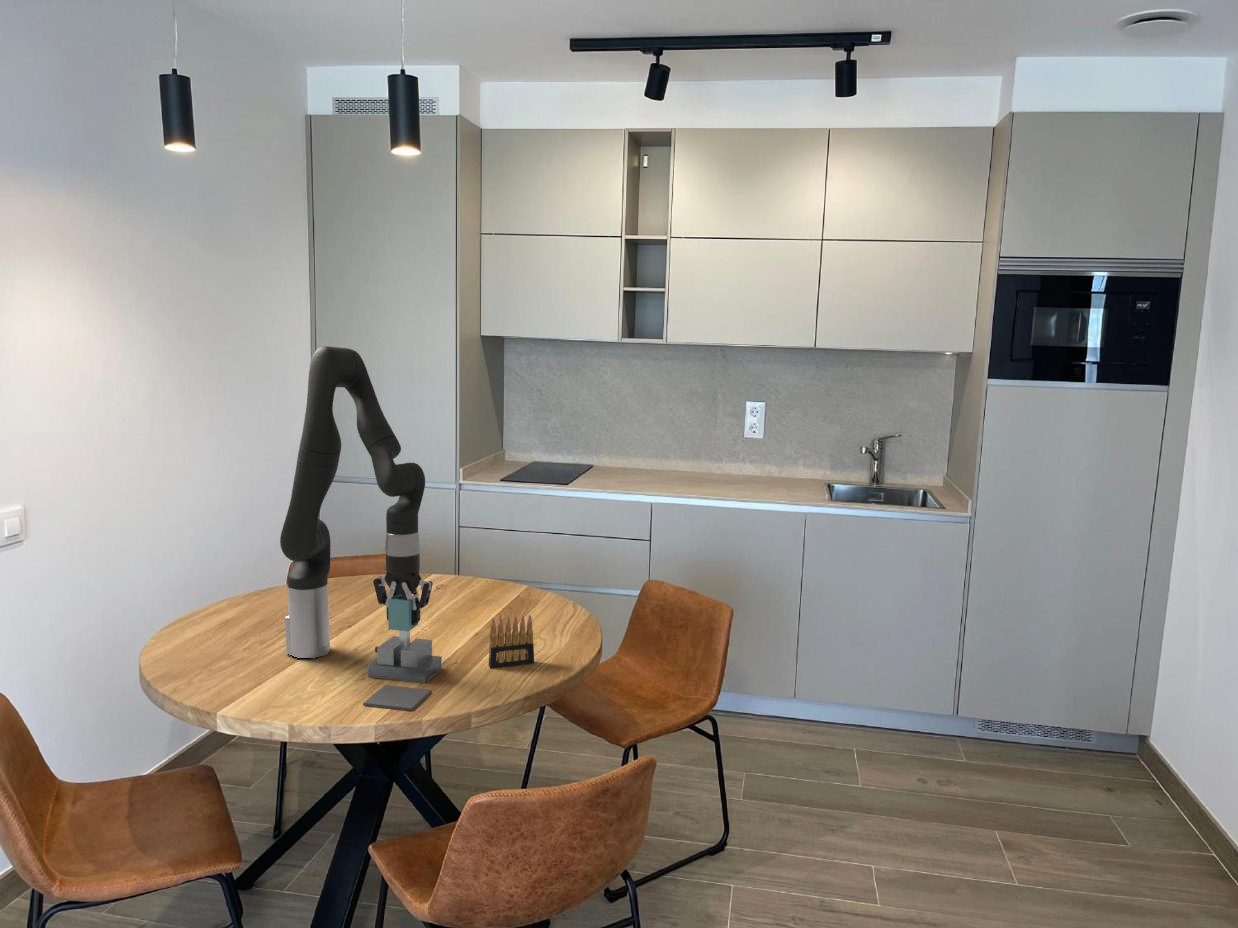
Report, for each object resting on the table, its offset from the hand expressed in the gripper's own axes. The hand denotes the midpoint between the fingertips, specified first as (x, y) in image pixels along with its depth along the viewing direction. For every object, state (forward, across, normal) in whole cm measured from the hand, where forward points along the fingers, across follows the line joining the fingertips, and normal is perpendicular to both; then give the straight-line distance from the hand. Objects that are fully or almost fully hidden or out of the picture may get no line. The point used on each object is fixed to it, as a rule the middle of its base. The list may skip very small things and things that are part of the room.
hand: (403, 622), depth 204 cm
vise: (+12, 0, 0) cm, 12 cm away
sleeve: (+1, 0, 0) cm, 1 cm away
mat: (+12, -5, +14) cm, 19 cm away
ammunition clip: (+12, -22, -11) cm, 28 cm away
